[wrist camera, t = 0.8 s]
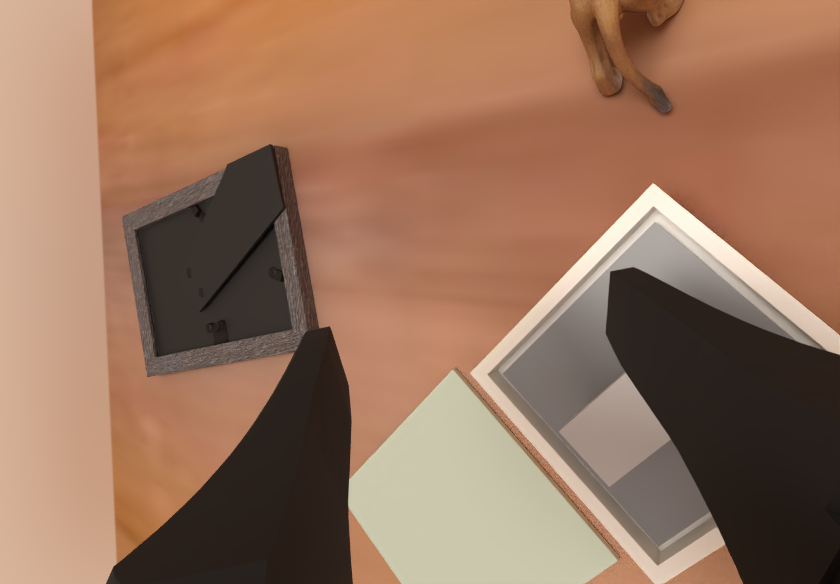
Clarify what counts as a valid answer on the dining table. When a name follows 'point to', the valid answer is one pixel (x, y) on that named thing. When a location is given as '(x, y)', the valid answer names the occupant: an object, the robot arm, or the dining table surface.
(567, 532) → the sage mat
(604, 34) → the lion figurine
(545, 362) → the grey cover
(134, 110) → the dining table surface
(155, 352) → the picture frame
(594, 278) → the tray
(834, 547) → the robot arm
